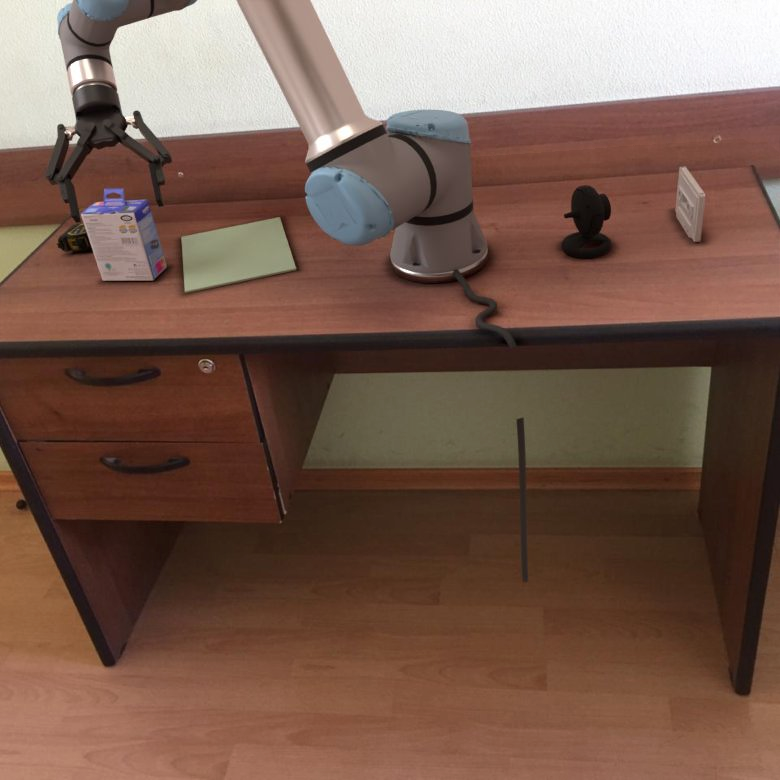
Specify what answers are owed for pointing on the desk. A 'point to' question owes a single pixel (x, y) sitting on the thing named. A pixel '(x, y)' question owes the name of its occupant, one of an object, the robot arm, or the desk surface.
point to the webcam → (587, 223)
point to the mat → (235, 255)
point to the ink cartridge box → (124, 239)
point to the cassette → (690, 204)
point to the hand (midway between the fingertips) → (118, 211)
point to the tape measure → (74, 239)
